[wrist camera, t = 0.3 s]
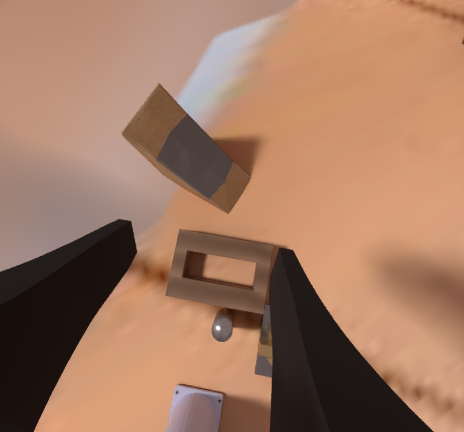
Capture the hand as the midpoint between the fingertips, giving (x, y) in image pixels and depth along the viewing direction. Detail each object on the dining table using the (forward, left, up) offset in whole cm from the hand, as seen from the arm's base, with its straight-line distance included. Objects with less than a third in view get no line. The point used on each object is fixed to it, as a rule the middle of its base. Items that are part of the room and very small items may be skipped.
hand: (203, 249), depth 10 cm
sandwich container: (+13, +6, -29) cm, 32 cm away
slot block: (-4, 0, -28) cm, 29 cm away
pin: (-12, -2, -28) cm, 31 cm away
